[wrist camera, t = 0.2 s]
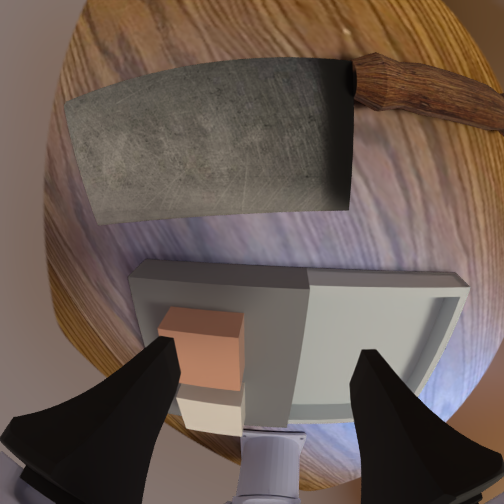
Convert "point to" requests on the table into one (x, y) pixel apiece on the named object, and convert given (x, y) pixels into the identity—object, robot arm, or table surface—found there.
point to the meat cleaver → (249, 133)
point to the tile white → (212, 409)
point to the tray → (371, 333)
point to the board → (255, 321)
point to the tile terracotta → (207, 346)
